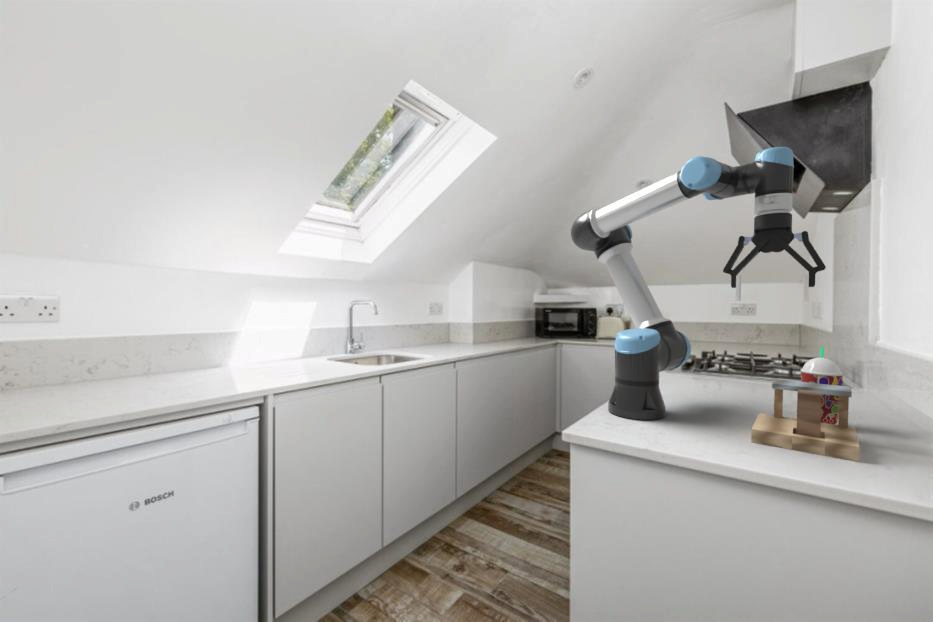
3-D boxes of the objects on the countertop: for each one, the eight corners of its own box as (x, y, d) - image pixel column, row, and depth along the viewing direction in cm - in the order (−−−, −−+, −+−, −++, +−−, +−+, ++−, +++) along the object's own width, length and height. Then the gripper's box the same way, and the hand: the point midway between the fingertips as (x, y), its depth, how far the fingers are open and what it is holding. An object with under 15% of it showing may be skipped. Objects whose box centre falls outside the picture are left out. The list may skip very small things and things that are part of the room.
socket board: (751, 441, 96) (752, 388, 95) (758, 424, 108) (759, 377, 108) (859, 461, 84) (861, 401, 84) (854, 440, 96) (855, 387, 96)
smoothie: (843, 432, 102) (845, 349, 101) (799, 425, 107) (801, 347, 106) (839, 423, 109) (842, 346, 108) (798, 417, 114) (800, 344, 113)
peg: (796, 442, 96) (798, 389, 95) (819, 446, 93) (821, 392, 93) (796, 447, 93) (797, 392, 92) (819, 451, 90) (821, 395, 89)
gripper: (711, 218, 108) (710, 301, 109) (841, 204, 92) (838, 301, 93) (717, 221, 114) (715, 300, 115) (840, 209, 98) (837, 301, 99)
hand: (770, 301), depth 104 cm, fingers open, 13 cm apart
